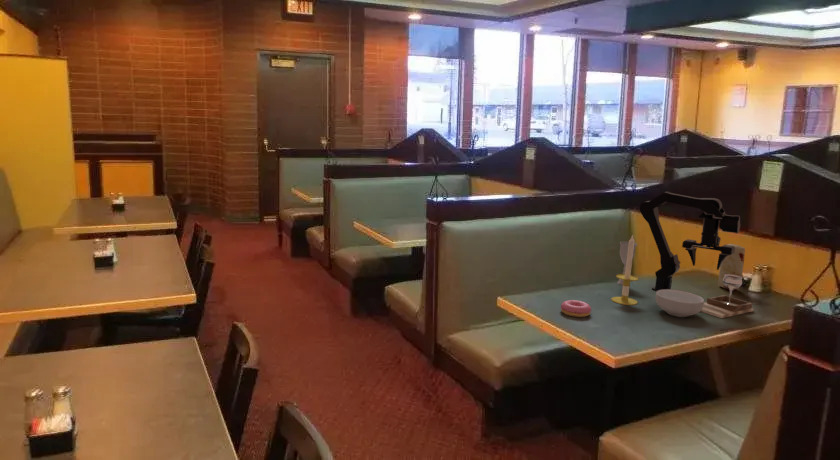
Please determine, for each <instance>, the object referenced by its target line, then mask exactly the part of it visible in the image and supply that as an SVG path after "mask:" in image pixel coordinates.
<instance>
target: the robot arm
mask: <svg viewBox="0 0 840 460" xmlns="http://www.w3.org/2000/svg"><path fill="white" fill-rule="evenodd" d="M666 203H671V204H676V205H679V206H680V205H681V206H685V207H690V208H694V209H697V210H699V211H701V212H702V213H701V214H700V215H698V218H699V219H703V223H702V230H701V237H700V238H701V239H700V242H697V240H694V239H690V238H689V239H685V240H684V241H682V243H681V244H682V245H681V247H682V248H684V250H686V251H687V252H688V255H689V258H690V259H691V264H692V266H696V258H697V257H696V255H697V250H698V248H699V249H705V250H712V251H719V252H720V253H719V254H718V260H717V264H716V270H717V271H718V270H719V271H720V266H721V264H722V262H723V260H724V259H725V257H726V256H729V255H732V254H733V253H735V247H734V246H730V245H726V244H723V245H721V246H720V243H721V239H722V238H721V237H720V236H719V229H720V230H721V231H722V232H725V233H731V234H732V233H734V234H739V232H740V230H741V216H740V215H730V214H727V213H726V211H725V209H724V207H723V203H722V201H721V200H720V199H719V198H715V197H701V198H700V197H694V196H689V195H683V194H678V193H673V192H670V191H664V192H662V193H661V194H659V195H658V196H656V197H654V198H652V199H651V200H647V201H644V202H642V203H641V204H640V206H639V212H640V214H641V215H642V218H643V219H644V220H645V221H646V222H647V224H648V226H649V230H651V231H650V232H651V234H652V237H653V240H654V242H655V245H656V247H657V250H658V252H659V253H658V254H659V256H660V257H659V258H660V267H661V268H660V269H658V270H657V271H655V273H654V274H655V285H654V287H651V290H654V291H656V292H657V291H658V290H664V289H670V290H672V283H673V282H672V281H673V276H674V274H675V273H677V272H678V271H679V270H680V268H681V265H680V264H681V263H682V262H681V261H680V260H679V256H678V254H674V253H673V252H672V251H671V248H670V246H669V243H668V240H667V238H666V235H665V233H664V230H663V227H662V225H661V222H660V216H659V215H660V214H659V213H660V211H659V208H660V207H662V206H663V205H665V204H666Z"/></svg>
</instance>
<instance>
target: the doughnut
mask: <svg viewBox="0 0 840 460" xmlns="http://www.w3.org/2000/svg"><path fill="white" fill-rule="evenodd" d="M560 310H561V312H562V313H563V314H564V315H567V316H570V317H572V318H573V317H574V318H585V317H588V316H589V315H591V312H592V307H591V305H590V304H588V303H587V302H584V301H583V300H576V299H568V300H564V301H563V302H562V303H561V304H560Z"/></svg>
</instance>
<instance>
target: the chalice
mask: <svg viewBox="0 0 840 460" xmlns="http://www.w3.org/2000/svg"><path fill="white" fill-rule="evenodd" d="M619 244H620V249H619V257H620V260H621V262H622V264H623V265H624V267H623V268H622V269H623V272H622V274H625V269H626V261H627V253H628V245H629V241H619ZM637 246H638V243H636V242H635V243H634V251H633V259H634V257H635V256H636V255H635V254H636V248H637ZM623 281H624V280H621V279H619V278H618V281H617V284H618V285H620V286H623Z"/></svg>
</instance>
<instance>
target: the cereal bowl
mask: <svg viewBox="0 0 840 460" xmlns="http://www.w3.org/2000/svg"><path fill="white" fill-rule="evenodd" d="M655 302H656V304H657V306H658V307H659V308H660V310H661V309H662V310H663V311H664V312H666V313H667V314H668V315H670V316H673V317H674V316H675V317H677V318H678V317H679V318H686V317H689V316H693V315H697V314H699V313H700V312H701V310H702V308H703V304H704V303H705V299H704V298H703V296H702V297H701V296H700V295H697V294H695V293H690V292H689V291H688V292H687V291H685V290H678V289H671V290H670V289H664V290H658V291H656V292H655Z"/></svg>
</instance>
